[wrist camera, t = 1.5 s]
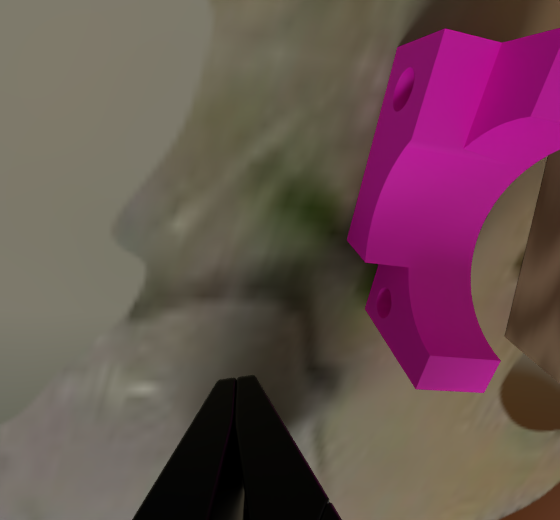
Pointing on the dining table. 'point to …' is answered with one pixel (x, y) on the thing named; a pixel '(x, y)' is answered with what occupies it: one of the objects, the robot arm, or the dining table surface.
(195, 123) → the dining table surface
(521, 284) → the batten
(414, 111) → the toy block
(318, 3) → the dining table surface
